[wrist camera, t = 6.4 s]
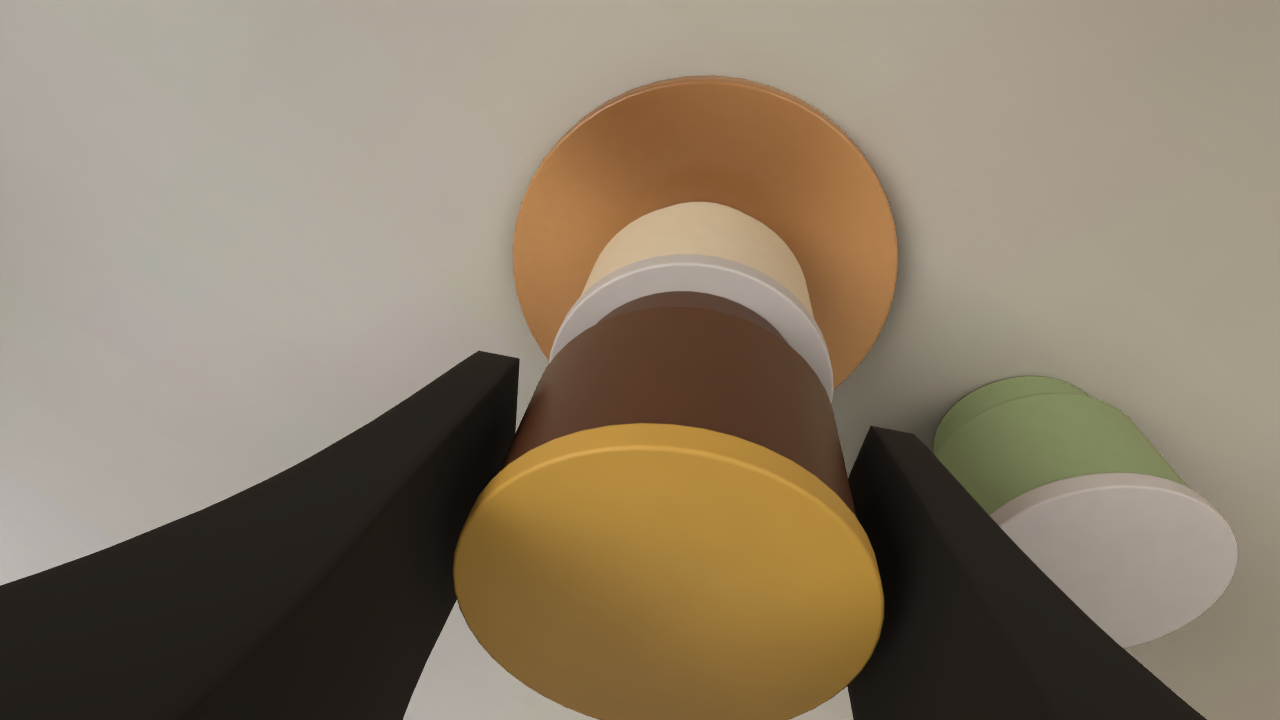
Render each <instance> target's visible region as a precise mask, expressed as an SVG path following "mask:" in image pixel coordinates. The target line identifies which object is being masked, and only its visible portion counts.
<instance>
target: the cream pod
mask: <svg viewBox="0 0 1280 720" xmlns="http://www.w3.org/2000/svg"><path fill="white" fill-rule="evenodd" d="M671 291H693V292H701V293H708V294H712V295H716V296H720V297H724V298H727V299H729V300H732V301H734V302H737V303H739V304H741V305H743V306H745V307H747V308H749V309H751V310H753V311H754V312H756V313H757V314H758V315H760V316H761V317H763V318H764V319H765V320H767V321H768V322H769V323H770V324H771V325H772V326H773V327H774V328H775V329H776V330H778V332H779V333H780V334H781V335H782V337H783V338H784V339H785V340H786V341H787V343H788V344H789V345H790V346H791V347H792V348H793V349H794V350H795V351H796V352H797V353H798V354H799V355H801V356H802V357H803V358H804V359H805V361H806V362H807V363H808V364H809V366H810V367H811V368H812V369H813V370H814V372H815V373H816V374H817V376H818V378H819V379H820V381H821V383H822V385H823V386H824V388H825V390H826V392H827V395H828V397H829V400H830V402H831V405H832V398H833V390H834V388H833V371H832V366H831V362H830V357H829V353H828V348H827V345H826V343H825V340H824V337H823V335H822V332H821V330H820V329H819V327H818V325H817V323H816V321H815V320H814V316H813V311H812V307H811V302H810V298H809V294H808V289H807V285H806V280H805V277H804V275H803V272H802V269H801V267H800V265H799V263H798V261H797V259H796V257H795V256H794V254H793V253H792V251H791V250H790V249H789V247H788V246H787V245H786V243H785V242H784V241H783V240H782V239H781V238H780V237H779V236H778V235H777V234H776V233H775V232H774V231H772V230H771V229H770V228H768V227H767V226H766V225H764V224H763V223H761V222H760V221H758V220H756V219H754V218H752V217H751V216H749V215H746V214H744V213H743V212H741V211H739V210H736V209H734V208H731V207H729V206H725V205H721V204H717V203H710V202H687V203H680V204H676V205H672V206H669V207H666V208H663V209H659V210H656V211H653V212H651V213H649V214H646V215H644V216H642V217H640V218H638V219H637V220H635V221H633V222H632V223H630V224H628V225H627V226H626V227H625V228H623V229H622V230H621V231H620V232H618V233H617V234H616V235H615V236H614V237H613V238H612V239H611V241H610V242H609V243H608V244H607V245H606V247H605V248H604V249H603V251H602V252H601V254H600V255H599V257H598V259H597V261H596V263H595V265H594V267H593V269H592V272H591V274H590V276H589V278H588V281H587V283H586V285H585V287H584V290H583V292H582V294H581V296H580V298H579V299H578V300H577V301H576V302H575V304H574V305H573V306H572V308H571V309H570V311H569V312H568V313H567V315H566V317H565V319H564V321H563V323H562V325H561V327H560V329H559V331H558V333H557V335H556V337H555V340H554V343H553V346H552V349H551V352H550V359H549V364H550V362H551V361H552V360H553V358H554V357H555V356H556V354H557V353H558V352H559V351H560V350H561V349H562V348H563V347H564V346H565V345H566V344H567V343H569V342H570V341H571V340H572V339H574V338H575V337H576V336H578V335H579V334H581V333H582V332H583V331H585V330H586V329H588V328H590V327H592V326H594V325H596V324H597V323H598V322H599V321H600V320H601V319H602V318H603V317H604V316H606V315H607V314H609V313H610V312H611V311H613V310H614V309H616V308H618V307H620V306H622V305H624V304H625V303H627V302H630V301H633V300H635V299H638V298H641V297H643V296H648V295H652V294H656V293H662V292H671Z"/></svg>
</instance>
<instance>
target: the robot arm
mask: <svg viewBox="0 0 1280 720" xmlns="http://www.w3.org/2000/svg"><path fill="white" fill-rule="evenodd" d="M518 377H519V358H514V357H508V356H503V355H498V354H493V353H487V352H482V351H478V352H476V353H474V354H473V355H471V356H470V357H468V358H467V359H465V360H464V361H462V362H461V363H459V364H458V365H456V366H455V367H453V368H452V369H450V370H449V371H447V372H446V373H444V374H443V375H441V376H440V377H438V378H437V379H435V380H434V381H433V382H431V383H430V384H428V385H427V386H425V387H424V388H422V389H421V390H419V391H418V392H416V393H415V394H413V395H412V396H410V397H409V398H407V399H406V400H404V401H403V402H401V403H399V404H398V405H396V406H395V407H393V408H392V409H390V410H389V411H387V412H385V413H384V414H382V415H381V416H379V417H378V418H376V419H375V420H373V421H371V422H370V423H368V424H367V425H365V426H363V427H361V428H360V429H358V430H356V431H355V432H353V433H351V434H349V435H348V436H346V437H344V438H343V439H341V440H339V441H337V442H336V443H334V444H332V445H330V446H329V447H327V448H325V449H324V450H322V451H320V452H318V453H317V454H315V455H313V456H312V457H310V458H308V459H306V460H304V461H302V462H300V463H299V464H297V465H295V466H293V467H291V468H289V469H287V470H285V471H283V472H281V473H279V474H277V475H275V476H273V477H271V478H269V479H267V480H265V481H263V482H261V483H259V484H257V485H255V486H253V487H250V488H248V489H246V490H244V491H242V492H240V493H238V494H236V495H234V496H231V497H229V498H227V499H225V500H223V501H221V502H219V503H216V504H214V505H212V506H210V507H207V508H205V509H203V510H200V511H198V512H195V513H193V514H190V515H188V516H186V517H183V518H181V519H178V520H176V521H173V522H171V523H168V524H166V525H163V526H161V527H158V528H156V529H154V530H151V531H149V532H146V533H144V534H141V535H139V536H136V537H134V538H131V539H129V540H126V541H124V542H122V543H119V544H117V545H114V546H112V547H109V548H107V549H104V550H101V551H99V552H96V553H93V554H91V555H88V556H85V557H82V558H79V559H77V560H74V561H71V562H68V563H65V564H62V565H60V566H57V567H54V568H51V569H48V570H46V571H43V572H40V573H37V574H34V575H31V576H28V577H25V578H22V579H19V580H16V581H13V582H10V583H7V584H4V585H1V586H0V720H403V717H404V715H405V712H406V709H407V707H408V704H409V701H410V699H411V696H412V694H413V691H414V689H415V687H416V684H417V682H418V680H419V678H420V675H421V673H422V671H423V668H424V666H425V664H426V662H427V659H428V657H429V655H430V653H431V651H432V649H433V647H434V645H435V643H436V641H437V639H438V637H439V635H440V633H441V631H442V629H443V627H444V625H445V623H446V621H447V618H448V616H449V614H450V612H451V610H452V608H453V606H454V604H455V602H456V600H457V597H456V593H455V588H454V578H453V563H454V552H455V548H456V545H457V542H458V538H459V535H460V532H461V530H462V528H463V526H464V524H465V522H466V520H467V517H468V515H469V513H470V511H471V509H472V508H473V506H474V504H475V502H476V500H477V498H478V496H479V495H480V494H481V492H482V491H483V490H484V489H485V487H486V486H487V485H488V483H489V482H490V481H491V480H492V479H493V478H494V477H495V476H496V475H497V474H498V471H499V469H500V467H501V465H502V462H503V460H504V458H505V456H506V454H507V451H508V449H509V447H510V445H511V443H512V440H513V438H514V436H515V429H516V411H517V394H518ZM848 481H849V486H850V490H851V495H852V499H853V504H854V508H855V513H856V517H857V519H858V521H859V523H860V524H861V526H862V527H863V529H864V531H865V532H866V534H867V536H868V539H869V541H870V544H871V546H872V548H873V551H874V553H875V557H876V561H877V565H878V570H879V574H880V578H881V583H882V588H883V593H884V620H883V625H882V629H881V634H880V638H879V641H878V643H877V645H876V647H875V649H874V652H873V654H872V656H871V658H870V659H869V661H868V662H867V663H866V665H865V666H864V668H863V669H862V671H861V672H860V673H859V674H858V675H857V676H856V677H855V678H854V679H853V680H852V681H851V683H850V684H849V685H848V691H849V697H850V702H851V708H852V713H853V719H854V720H1207V719H1205V718H1204V717H1203V716H1202V715H1200V714H1199V713H1198V712H1197V711H1195V710H1194V709H1193V708H1192V707H1191V706H1189V705H1188V704H1187V703H1186V702H1185V701H1183V700H1182V699H1181V698H1180V697H1179V696H1177V695H1176V694H1175V693H1174V692H1173V691H1172V690H1171V689H1169V688H1168V687H1167V686H1166V685H1165V684H1164V683H1162V682H1161V681H1160V680H1159V679H1158V678H1157V677H1156V676H1154V675H1153V674H1152V673H1151V672H1150V671H1149V670H1147V669H1146V668H1145V667H1144V666H1143V665H1142V664H1141V663H1139V662H1138V661H1137V660H1136V659H1135V658H1134V657H1132V656H1131V655H1130V654H1129V653H1128V652H1127V651H1126V650H1124V649H1123V648H1122V647H1121V646H1120V645H1119V644H1118V643H1117V642H1115V641H1114V640H1113V639H1112V638H1111V637H1110V636H1109V635H1108V634H1107V633H1106V632H1105V631H1103V630H1102V629H1101V628H1100V627H1099V626H1098V625H1097V624H1096V623H1095V622H1094V621H1093V620H1092V619H1091V618H1090V617H1089V616H1088V615H1086V614H1085V613H1084V612H1083V611H1082V610H1081V609H1080V608H1079V607H1078V606H1077V605H1076V604H1075V603H1074V602H1073V601H1072V600H1071V599H1070V598H1069V597H1068V596H1067V595H1066V594H1065V593H1064V592H1063V591H1062V590H1061V589H1060V588H1059V587H1058V586H1057V585H1056V584H1055V583H1054V582H1053V581H1052V580H1051V579H1050V578H1048V576H1047V575H1046V574H1045V573H1044V572H1043V571H1042V570H1041V569H1040V568H1039V567H1038V566H1037V565H1036V564H1035V563H1034V562H1033V561H1032V560H1031V559H1030V558H1029V557H1028V556H1027V555H1026V554H1025V553H1024V552H1023V551H1022V550H1021V549H1020V548H1019V547H1018V546H1017V545H1016V543H1015V542H1014V541H1013V540H1012V539H1011V538H1010V537H1009V536H1008V535H1007V534H1006V533H1005V532H1004V531H1003V530H1002V529H1001V528H1000V526H999V525H998V524H997V523H996V522H995V521H994V520H993V519H992V518H991V517H990V516H989V515H988V513H987V512H986V511H985V510H984V509H983V508H982V507H981V506H980V505H979V504H978V503H977V501H976V500H975V499H974V498H973V497H972V496H971V495H970V494H969V493H968V492H967V490H966V489H965V488H964V487H963V486H962V485H961V484H960V483H959V482H958V480H957V479H956V478H955V477H954V476H953V475H952V474H951V473H950V472H949V471H948V469H947V468H946V467H945V466H944V465H943V464H942V463H941V462H940V461H939V460H938V459H937V457H936V456H935V455H934V454H933V453H932V452H931V451H930V450H929V449H928V448H927V447H926V446H925V445H924V444H923V443H922V442H921V441H920V440H919V439H918V438H917V437H916V436H915V435H914V434H911V433H906V432H901V431H896V430H890V429H885V428H880V427H875V426H870V429H869V431H868V433H867V436H866V438H865V440H864V443H863V445H862V447H861V450H860V452H859V454H858V457H857V459H856V461H855V464H854V466H853V468H852V471H851V473H850V475H849V478H848Z"/></svg>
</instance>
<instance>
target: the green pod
mask: <svg viewBox="0 0 1280 720" xmlns="http://www.w3.org/2000/svg"><path fill="white" fill-rule="evenodd" d="M933 453H934V455H935V456H936V457H937V459H938V460H939V461H940V462H941V463H942V464H943V465H944V466H945V467H946V468H947V469H948V471H949V472H950V473H951V474H952V475H953V476H954V477H955V478H956V479H957V480H958V482H959V483H960V484H961V485H962V486H963V487H964V488H965V489H966V490H967V492H968V493H969V494H970V495H971V496H972V497H973V498H974V499H975V500H976V501H977V503H978V504H979V505H980V506H981V507H982V508H983V509H984V510H985V511H986V512H987V513H988V515H989V516H990V517H991V518H992V519H993V520H994V521H995V522H996V523H997V524H998V525H999V526H1000V528H1001V529H1002V530H1003V531H1004V532H1005V533H1006V534H1007V535H1008V536H1009V537H1010V538H1011V539H1012V540H1013V541H1014V542H1015V543H1016V545H1017V546H1018V547H1019V548H1020V549H1021V550H1022V551H1023V552H1024V553H1025V554H1026V555H1027V556H1028V557H1029V558H1030V559H1031V560H1032V561H1033V562H1034V563H1035V564H1036V565H1037V566H1038V567H1039V568H1040V569H1041V570H1042V571H1043V572H1044V573H1045V574H1046V575H1047V576H1048V578H1050V579H1051V580H1052V581H1053V582H1054V583H1055V584H1056V585H1057V586H1058V587H1059V588H1060V589H1061V590H1062V591H1063V592H1064V593H1065V594H1066V595H1067V596H1068V597H1069V598H1070V599H1071V600H1072V601H1073V602H1074V603H1075V604H1076V605H1077V606H1078V607H1079V608H1080V609H1081V610H1082V611H1083V612H1084V613H1085V614H1086V615H1088V616H1089V617H1090V618H1091V619H1092V620H1093V621H1094V622H1095V623H1096V624H1097V625H1098V626H1099V627H1100V628H1101V629H1102V630H1103V631H1105V632H1106V633H1107V634H1108V635H1109V636H1110V637H1111V638H1112V639H1113V640H1114V641H1115V642H1117V643H1118V644H1119V645H1120V646H1121V647H1122V648H1127V647H1131V646H1135V645H1138V644H1142V643H1145V642H1148V641H1151V640H1154V639H1156V638H1159V637H1162V636H1164V635H1166V634H1168V633H1170V632H1173V631H1175V630H1177V629H1179V628H1181V627H1182V626H1184V625H1186V624H1187V623H1189V622H1191V621H1192V620H1194V619H1195V618H1197V617H1198V616H1199V615H1201V614H1202V613H1203V612H1205V611H1206V610H1207V609H1208V608H1209V607H1210V606H1211V605H1212V604H1213V603H1215V602H1216V601H1217V599H1218V598H1219V597H1220V596H1221V595H1222V593H1223V592H1224V591H1225V589H1226V588H1227V586H1228V585H1229V583H1230V581H1231V579H1232V577H1233V574H1234V572H1235V569H1236V564H1237V559H1238V553H1237V543H1236V540H1235V536H1234V533H1233V531H1232V530H1231V528H1230V526H1229V524H1228V523H1227V522H1226V521H1225V519H1224V518H1223V517H1222V516H1221V515H1220V514H1219V512H1218V511H1217V510H1216V509H1215V508H1214V507H1213V506H1212V505H1211V503H1210V502H1209V501H1207V500H1206V499H1205V498H1204V497H1202V496H1201V495H1200V494H1198V493H1197V492H1195V491H1193V490H1191V489H1190V488H1189V487H1188V486H1187V485H1186V483H1185V482H1184V481H1183V480H1182V479H1181V478H1180V476H1179V475H1178V474H1177V473H1176V472H1175V471H1174V469H1173V468H1172V467H1171V466H1170V465H1169V464H1168V462H1167V461H1166V460H1165V459H1164V458H1163V457H1162V455H1161V454H1160V453H1159V452H1158V451H1157V450H1156V448H1155V447H1154V446H1153V445H1152V444H1151V443H1150V441H1149V440H1148V439H1147V438H1146V437H1145V436H1144V434H1143V433H1142V432H1141V431H1140V430H1139V429H1138V427H1137V426H1136V425H1135V424H1134V423H1133V422H1132V421H1131V420H1130V418H1129V417H1128V416H1126V415H1125V414H1124V413H1122V412H1121V411H1120V410H1118V409H1117V408H1115V407H1113V406H1111V405H1109V404H1107V403H1105V402H1102V401H1099V400H1097V399H1094V398H1090V397H1089V396H1088V395H1087V394H1086V393H1084V392H1083V391H1082V390H1080V389H1079V388H1077V387H1075V386H1074V385H1072V384H1069V383H1067V382H1064V381H1062V380H1058V379H1054V378H1049V377H1041V376H1023V377H1014V378H1008V379H1004V380H1000V381H996V382H993V383H991V384H988V385H985V386H983V387H981V388H979V389H977V390H975V391H973V392H972V393H970V394H968V395H967V396H965V397H964V398H962V399H961V400H960V401H959V402H957V403H956V404H955V405H954V406H953V407H952V408H951V409H950V410H949V411H948V413H947V414H946V415H945V416H944V418H943V419H942V421H941V423H940V424H939V426H938V429H937V431H936V434H935V438H934V442H933Z"/></svg>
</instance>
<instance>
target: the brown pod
mask: <svg viewBox="0 0 1280 720" xmlns="http://www.w3.org/2000/svg"><path fill="white" fill-rule="evenodd" d="M453 578H454V588H455V593H456V597H457V600H458V604H459V607H460V610H461V612H462V614H463V616H464V618H465V620H466V623H467V625H468V627H469V628H470V630H471V631H472V633H473V634H474V636H475V637H476V639H477V640H478V642H479V643H480V644H481V645H482V646H483V647H484V649H485V650H486V651H487V652H488V653H489V654H490V656H491V657H492V658H493V659H494V660H495V661H497V662H498V663H499V664H500V665H501V666H502V667H503V668H504V669H505V670H506V671H507V672H509V673H510V674H511V675H513V676H514V677H515V678H517V679H518V680H519V681H521V682H522V683H523V684H525V685H526V686H528V687H530V688H531V689H533V690H534V691H536V692H538V693H539V694H541V695H543V696H544V697H546V698H548V699H550V700H552V701H554V702H556V703H558V704H560V705H562V706H564V707H567V708H569V709H572V710H574V711H577V712H579V713H582V714H584V715H587V716H590V717H593V718H596V719H599V720H788V719H791V718H794V717H796V716H798V715H801V714H803V713H805V712H808V711H810V710H812V709H814V708H816V707H817V706H819V705H821V704H822V703H824V702H826V701H828V700H829V699H831V698H832V697H834V696H835V695H836V694H837V693H839V692H840V691H841V690H843V689H844V688H845V687H847V686H848V685H849V684H850V683H851V681H852V680H853V679H854V678H855V677H856V676H857V675H858V674H859V673H860V672H861V671H862V669H863V668H864V666H865V665H866V663H867V662H868V661H869V659H870V658H871V656H872V654H873V652H874V649H875V647H876V645H877V643H878V641H879V638H880V634H881V629H882V625H883V620H884V593H883V588H882V583H881V578H880V574H879V570H878V565H877V561H876V557H875V553H874V551H873V548H872V546H871V544H870V541H869V539H868V536H867V534H866V532H865V531H864V529H863V527H862V526H861V524H860V523H859V521H858V519H857V517H856V513H855V508H854V504H853V499H852V495H851V490H850V486H849V481H848V477H847V472H846V468H845V463H844V458H843V454H842V449H841V445H840V440H839V436H838V431H837V427H836V422H835V418H834V413H833V409H832V405H831V402H830V400H829V397H828V395H827V392H826V390H825V388H824V386H823V385H822V383H821V381H820V379H819V378H818V376H817V374H816V373H815V372H814V370H813V369H812V368H811V367H810V366H809V364H808V363H807V362H806V361H805V359H804V358H803V357H802V356H801V355H799V354H798V353H797V352H796V351H795V350H794V349H793V348H792V347H791V346H790V345H789V344H788V343H787V341H786V340H785V339H784V338H783V337H782V335H781V334H780V333H779V332H778V330H776V329H775V328H774V327H773V326H772V325H771V324H770V323H769V322H768V321H767V320H765V319H764V318H763V317H761V316H760V315H758V314H757V313H756V312H754V311H753V310H751V309H749V308H747V307H745V306H743V305H741V304H739V303H737V302H734V301H732V300H729V299H727V298H724V297H720V296H716V295H712V294H708V293H701V292H693V291H671V292H662V293H656V294H652V295H648V296H643V297H641V298H638V299H635V300H633V301H630V302H627V303H625V304H624V305H622V306H620V307H618V308H616V309H614V310H613V311H611V312H610V313H609V314H607V315H606V316H604V317H603V318H602V319H601V320H600V321H599V322H598V323H597V324H596V325H594V326H592V327H590V328H588V329H586V330H585V331H583V332H582V333H581V334H579V335H578V336H576V337H575V338H574V339H572V340H571V341H570V342H569V343H567V344H566V345H565V346H564V347H563V348H562V349H561V350H560V351H559V352H558V353H557V354H556V356H555V357H554V358H553V360H552V361H551V362H550V364H549V365H548V366H547V368H546V370H545V371H544V373H543V375H542V377H541V379H540V381H539V383H538V385H537V387H536V390H535V392H534V394H533V396H532V398H531V401H530V403H529V405H528V407H527V409H526V412H525V414H524V416H523V418H522V420H521V423H520V425H519V427H518V429H517V432H516V434H515V436H514V438H513V440H512V443H511V445H510V447H509V449H508V451H507V454H506V456H505V458H504V460H503V462H502V465H501V467H500V469H499V471H498V474H497V475H496V476H495V477H494V478H493V479H492V480H491V481H490V482H489V483H488V485H487V486H486V487H485V489H484V490H483V491H482V492H481V494H480V495H479V496H478V498H477V500H476V502H475V504H474V506H473V508H472V509H471V511H470V513H469V515H468V517H467V520H466V522H465V524H464V526H463V528H462V530H461V532H460V535H459V538H458V542H457V545H456V548H455V552H454V563H453Z"/></svg>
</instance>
